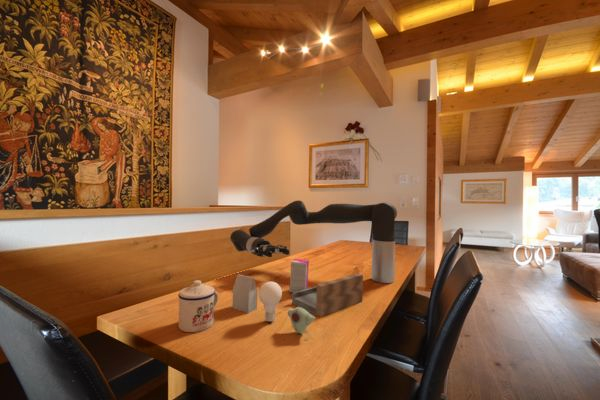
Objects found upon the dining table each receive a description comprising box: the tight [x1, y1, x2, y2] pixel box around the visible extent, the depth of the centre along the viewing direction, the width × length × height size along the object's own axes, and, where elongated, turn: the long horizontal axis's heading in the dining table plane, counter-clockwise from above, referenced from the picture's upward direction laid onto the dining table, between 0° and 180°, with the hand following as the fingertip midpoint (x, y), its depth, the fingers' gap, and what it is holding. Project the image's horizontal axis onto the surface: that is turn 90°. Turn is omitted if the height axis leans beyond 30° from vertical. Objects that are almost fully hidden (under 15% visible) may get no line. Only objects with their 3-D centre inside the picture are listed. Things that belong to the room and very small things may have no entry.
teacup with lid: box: [177, 279, 219, 333], centre depth 73 cm, size 12×9×12 cm
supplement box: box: [289, 258, 310, 295], centre depth 99 cm, size 6×6×12 cm
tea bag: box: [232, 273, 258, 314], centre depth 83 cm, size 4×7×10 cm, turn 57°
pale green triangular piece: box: [287, 306, 317, 334], centre depth 69 cm, size 8×4×7 cm, turn 56°
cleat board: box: [291, 273, 364, 318], centre depth 90 cm, size 20×13×9 cm, turn 131°
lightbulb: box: [258, 281, 283, 323], centre depth 75 cm, size 6×6×11 cm
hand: (280, 253), depth 107 cm, fingers open, 8 cm apart
